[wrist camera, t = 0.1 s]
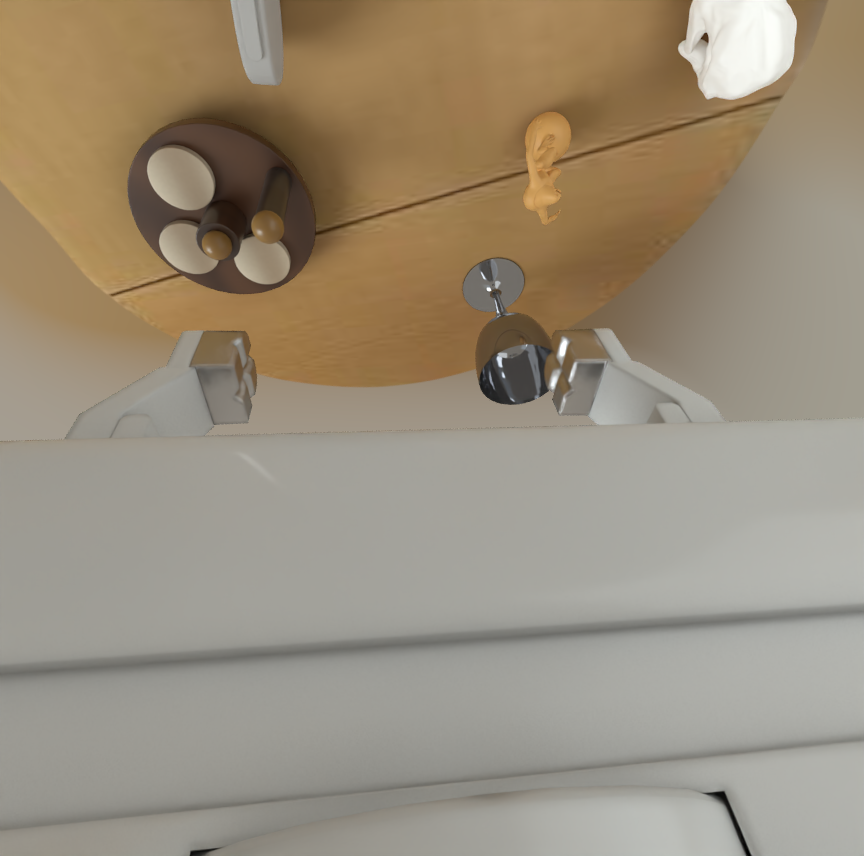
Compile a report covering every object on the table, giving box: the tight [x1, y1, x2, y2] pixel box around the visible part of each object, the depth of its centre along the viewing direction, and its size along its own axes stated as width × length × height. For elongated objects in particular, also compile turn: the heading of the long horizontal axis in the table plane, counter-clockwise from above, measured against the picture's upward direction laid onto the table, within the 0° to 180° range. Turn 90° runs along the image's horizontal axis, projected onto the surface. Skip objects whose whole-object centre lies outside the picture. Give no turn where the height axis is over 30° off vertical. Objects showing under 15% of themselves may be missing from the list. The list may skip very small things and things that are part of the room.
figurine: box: [523, 112, 571, 225], centre depth 42 cm, size 8×6×12 cm
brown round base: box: [128, 118, 316, 294], centre depth 44 cm, size 16×16×11 cm
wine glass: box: [463, 258, 553, 405], centre depth 53 cm, size 8×8×15 cm
